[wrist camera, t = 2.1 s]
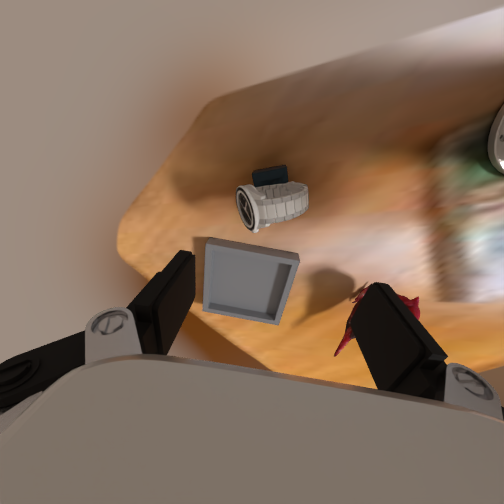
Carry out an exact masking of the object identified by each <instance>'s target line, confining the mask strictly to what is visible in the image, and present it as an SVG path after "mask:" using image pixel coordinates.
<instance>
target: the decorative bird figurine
mask: <svg viewBox="0 0 504 504" xmlns="http://www.w3.org/2000/svg"><path fill="white" fill-rule="evenodd" d="M369 286H370V285H369ZM369 286H368V287H369ZM368 287H367V288H365V289H363V290H362V291H361V292H360V294H359V295H358V297H357V298H356V299H355V301H354V302H352V303H355V302H357V301H358V302H357V303H356V304H355V306H354V308H353V310H352V312H351V314H350V316H349V318H348V320H347V324H346V330H345V334H344V337H343V339H342V341H341V342H340V344H339V346H338V348H337V350H336V352H335V354H334V357H335V356H337V355H338V354H339V352H340V351H341V350H342V349H343V348H344V347H345V346H346V344H347V343H348V342H349V341H350V340H351V339H353V338H355V335H354V333H353V331H352V328H351V326H350V320H351V318H352V316H353V314H354V312H355V311H356V309H357V307H358V305H359V303H360V302H361V300H362V298H363V295H364V294H365V293H366V291H367V289H368ZM397 295H398V294H397ZM398 296H399V298H400V299H401V300H402V301H403V302H404V304H405V305H406V306H407V307H408V308H409V310H410V311H411V312H412V313H413V314H414V316H415V317H416V318H417V319H419V317H420V310H419V307H418V303H419V297H416V298H414V299H412V300H410V299H408V298H407V297H405V296H401V295H398Z"/></svg>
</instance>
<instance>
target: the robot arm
mask: <svg viewBox="0 0 504 504" xmlns="http://www.w3.org/2000/svg"><path fill="white" fill-rule="evenodd" d="M488 155H489V159H490V161H491V163H492V165H493V166H494V167H495V168H496V169H497V170H498V171H499V172H501V173H503V174H504V104H503V106H502V107H501V109H500V110H499V112H498V114H497V116H496V118H495V120H494V122H493V124H492V127H491V131H490V134H489V138H488ZM194 298H195V255H192V252H190V251H184V250H180V251H179V252H178V253H177V254H176V255H175V256H174V258H173V259H172V260H171V261H170V262H169V263H168V265H167V266H166V267H165V268H164V269H163V270H162V272H158V273H156V275H155V276H154V277H153V278H152V279H151V280H150V281H149V283H148V284H147V285H146V286H145V287H144V288H143V289H142V290H141V292H140V293H139V294H138V295H137V296H136V297H135V298H134V300H133V301H132V302H131V303H130V304H129V305H128V307H126V308H123V307H115V308H110V309H107V310H104V311H102V312H100V313H98V314H96V315H95V316H94V317H93V318H91V319H90V321H89V322H88V323H87V325H86V329H85V331H82V332H79V333H77V334H74V335H71V336H68V337H66V338H63V339H60V340H58V341H55V342H52V343H50V344H47V345H44V346H41V347H39V348H36V349H33V350H31V351H28V352H25V353H22V354H20V355H17V356H15V357H12V358H10V359H8V360H6V361H4V362H3V363H1V364H0V504H504V407H502V406H501V403H500V399H499V396H498V394H497V392H496V391H495V390H494V388H493V387H492V386H491V385H490V384H489V383H488V382H487V381H486V380H485V379H484V378H483V377H481V376H480V375H479V374H477V373H476V372H474V371H473V370H471V369H469V368H468V367H466V366H464V365H461V364H458V363H450V364H448V365H446V363H445V362H444V360H445V359H446V358H447V357H448V356H447V354H446V353H445V352H444V351H443V350H442V348H441V347H440V346H439V345H438V344H437V342H436V341H435V340H434V339H433V337H432V336H431V335H430V334H429V333H428V331H427V330H426V329H425V328H424V327H423V325H422V324H421V323H420V322H419V321H418V319H417V318H416V317H415V316H414V314H413V313H412V312H411V311H410V310H409V308H408V307H407V306H406V305H405V304H404V302H403V301H402V300H401V299H400V298H399V296H398V295H397V294H396V293H395V292H394V290H393V289H392V288H391V287H390V286H389V285H388V284H385V283H379V282H375V283H373V284H371V285H370V286H369V287H368V289H367V291H366V293H365V294H364V296H363V298H362V300H361V302H360V303H359V305H358V307H357V309H356V311H355V312H354V314H353V316H352V318H351V320H350V326H351V328H352V331H353V333H354V335H355V338H356V340H357V342H358V345H359V347H360V349H361V351H362V354H363V356H364V358H365V361H366V363H367V365H368V368H369V370H370V372H371V375H372V377H373V379H374V382H375V384H376V386H377V388H378V389H372V388H366V387H360V386H355V385H349V384H343V383H337V382H331V381H325V380H320V379H314V378H308V377H302V376H296V375H290V374H284V373H278V372H272V371H266V370H260V369H254V368H247V367H241V366H235V365H228V364H223V363H217V362H210V361H204V360H197V359H190V358H183V357H176V356H167V353H168V351H169V350H170V347H171V345H172V343H173V341H174V339H175V337H176V335H177V333H178V331H179V329H180V327H181V325H182V323H183V321H184V319H185V317H186V315H187V313H188V311H189V309H190V307H191V305H192V303H193V301H194Z"/></svg>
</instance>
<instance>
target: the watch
mask: <svg viewBox="0 0 504 504" xmlns="http://www.w3.org/2000/svg"><path fill="white" fill-rule="evenodd" d="M252 177H253V183H254V186H253V185H249V184H248V185H244V186H238V187H237V189H236V203H237V207H238V211H239V214H240V217H241V219H242V221H243V223H244V225H245V226H246V227H247V229H248V230H250V231H252V233H257V232H258V231H259V230H258V229H259V228H264V227H268V226H270V224H271V223H278V222H282V221H286V220H289V219H292V218H295V217H297V216H299V215H301V214H303V213H304V212H305V211H307V209H308V208H309V194H308V187H307V185H306V184H303V183H297V182H294V181H292V182H288V174H287V166H286V165H280V166H275V167H270V168H265V169H260V170H255V171H253V173H252ZM276 213H277V214H276ZM274 219H275V221H274Z"/></svg>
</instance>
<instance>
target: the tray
mask: <svg viewBox="0 0 504 504" xmlns="http://www.w3.org/2000/svg"><path fill="white" fill-rule="evenodd" d="M299 263H300V259H299V254H298V253H293V252H288V251H282V250H277V249H272V248H266V247H261V246H256V245H250V244H245V243H239V242H234V241H229V240H223V239H218V238H213V237H210V238H209V239H208V241H207V242H206V248H205V269H204V291H203V311H205V312H210V313H215V314H221V315H226V316H231V317H237V318H242V319H247V320H253V321H258V322H263V323H269V324H274V325H279V322H280V319H281V316H282V313H283V310H284V307H285V304H286V301H287V298H288V295H289V292H290V289H291V286H292V283H293V280H294V277H295V274H296V271H297V268H298V266H299Z"/></svg>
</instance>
